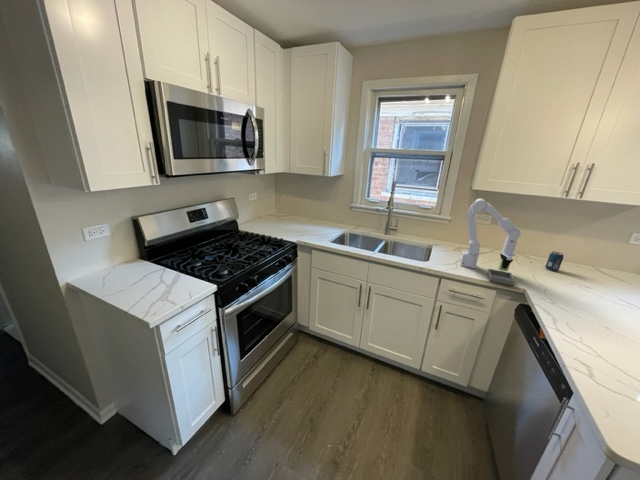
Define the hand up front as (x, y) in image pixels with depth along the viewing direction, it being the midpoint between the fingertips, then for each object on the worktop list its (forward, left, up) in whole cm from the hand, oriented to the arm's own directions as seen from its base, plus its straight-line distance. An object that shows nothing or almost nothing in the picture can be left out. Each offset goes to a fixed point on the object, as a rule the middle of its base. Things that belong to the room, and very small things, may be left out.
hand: (503, 266), depth 166 cm
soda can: (+32, +24, -4) cm, 40 cm away
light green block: (0, 0, -2) cm, 2 cm away
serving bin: (-3, -13, -4) cm, 13 cm away
